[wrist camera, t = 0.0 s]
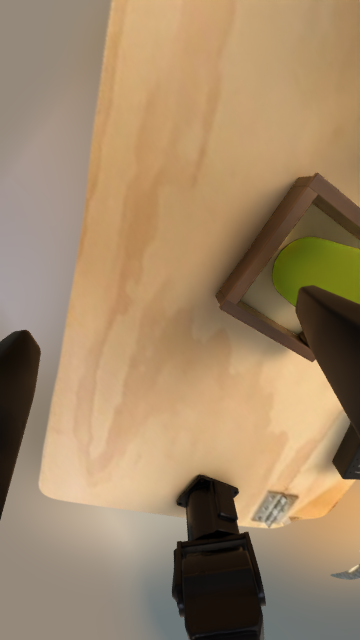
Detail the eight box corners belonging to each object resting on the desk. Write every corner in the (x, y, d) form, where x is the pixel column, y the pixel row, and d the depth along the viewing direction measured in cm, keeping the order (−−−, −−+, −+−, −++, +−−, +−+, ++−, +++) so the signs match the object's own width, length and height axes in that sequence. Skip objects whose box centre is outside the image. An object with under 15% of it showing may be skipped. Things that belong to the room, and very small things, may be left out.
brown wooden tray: (298, 346, 28) (312, 362, 25) (213, 296, 25) (219, 308, 23) (387, 247, 24) (415, 254, 21) (298, 175, 21) (318, 172, 19)
